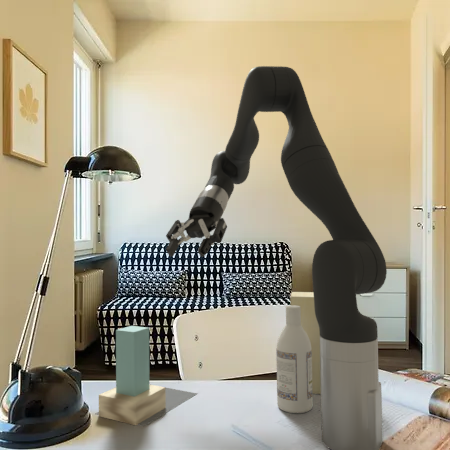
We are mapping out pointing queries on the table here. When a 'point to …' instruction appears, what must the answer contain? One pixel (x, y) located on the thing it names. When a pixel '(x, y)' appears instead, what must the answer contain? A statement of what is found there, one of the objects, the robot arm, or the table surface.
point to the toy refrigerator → (310, 332)
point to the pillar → (132, 360)
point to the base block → (132, 405)
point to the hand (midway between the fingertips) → (184, 253)
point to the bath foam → (294, 365)
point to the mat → (169, 403)
